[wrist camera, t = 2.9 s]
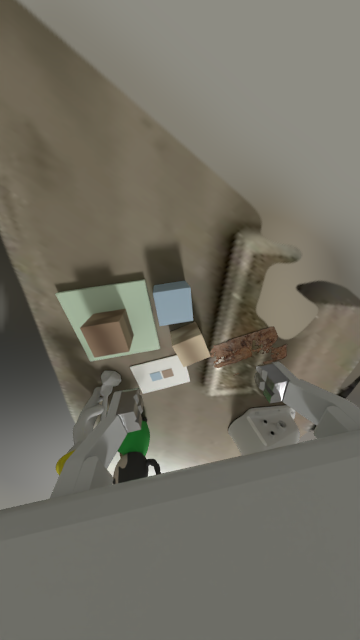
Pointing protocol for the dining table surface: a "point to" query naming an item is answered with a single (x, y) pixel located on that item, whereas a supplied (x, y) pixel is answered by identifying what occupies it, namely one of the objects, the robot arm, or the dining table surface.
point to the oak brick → (189, 344)
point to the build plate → (112, 298)
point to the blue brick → (173, 302)
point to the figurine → (91, 413)
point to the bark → (244, 350)
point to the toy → (134, 456)
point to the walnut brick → (108, 333)
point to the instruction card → (160, 374)
